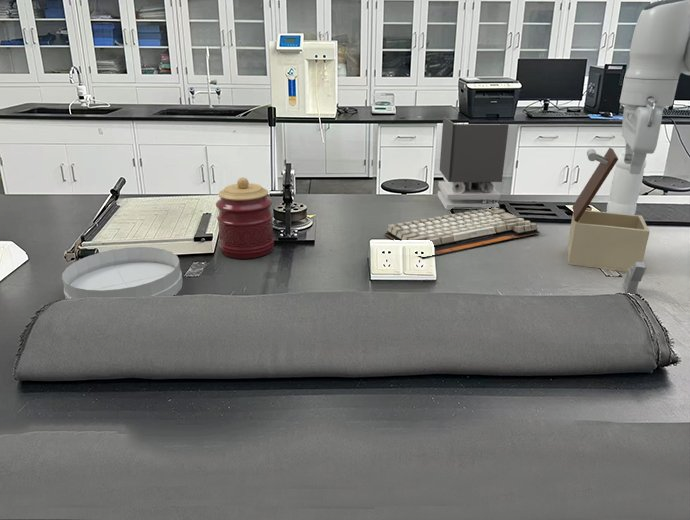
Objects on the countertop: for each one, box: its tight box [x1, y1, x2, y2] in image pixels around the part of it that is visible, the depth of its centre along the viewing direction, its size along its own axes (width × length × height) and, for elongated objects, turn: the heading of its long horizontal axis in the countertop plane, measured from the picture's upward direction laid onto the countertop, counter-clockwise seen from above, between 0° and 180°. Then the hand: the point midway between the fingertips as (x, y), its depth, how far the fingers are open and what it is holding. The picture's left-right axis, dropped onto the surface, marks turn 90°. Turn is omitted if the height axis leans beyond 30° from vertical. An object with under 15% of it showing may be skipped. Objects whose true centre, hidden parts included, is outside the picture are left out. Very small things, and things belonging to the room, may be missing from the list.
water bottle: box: [606, 140, 647, 215], centre depth 140 cm, size 7×7×25 cm
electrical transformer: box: [437, 116, 509, 211], centre depth 163 cm, size 16×19×25 cm
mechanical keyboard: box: [384, 207, 541, 256], centre depth 138 cm, size 38×19×3 cm, turn 117°
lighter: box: [622, 261, 647, 295], centre depth 105 cm, size 7×2×8 cm, turn 161°
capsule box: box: [566, 209, 651, 273], centre depth 121 cm, size 15×12×10 cm
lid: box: [572, 147, 619, 222], centre depth 118 cm, size 15×12×5 cm
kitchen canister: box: [215, 177, 275, 260], centre depth 125 cm, size 13×13×18 cm
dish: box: [61, 246, 184, 300], centre depth 107 cm, size 22×22×5 cm
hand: (631, 168), depth 104 cm, fingers open, 8 cm apart
